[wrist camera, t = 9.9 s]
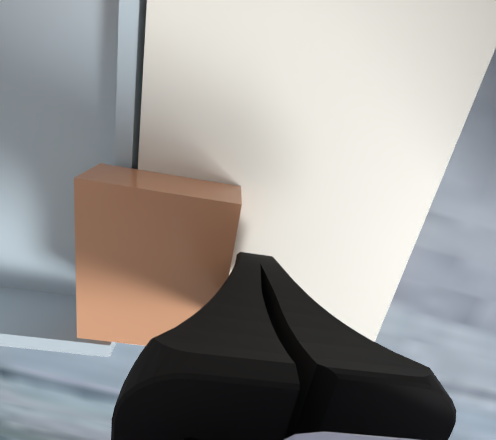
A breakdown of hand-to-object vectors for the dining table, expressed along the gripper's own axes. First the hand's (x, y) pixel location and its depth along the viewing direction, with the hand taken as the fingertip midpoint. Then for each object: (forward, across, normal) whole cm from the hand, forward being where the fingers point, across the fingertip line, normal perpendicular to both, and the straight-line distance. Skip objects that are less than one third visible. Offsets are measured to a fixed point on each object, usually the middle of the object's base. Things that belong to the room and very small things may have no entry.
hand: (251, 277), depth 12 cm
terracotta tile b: (+1, +3, 0) cm, 4 cm away
